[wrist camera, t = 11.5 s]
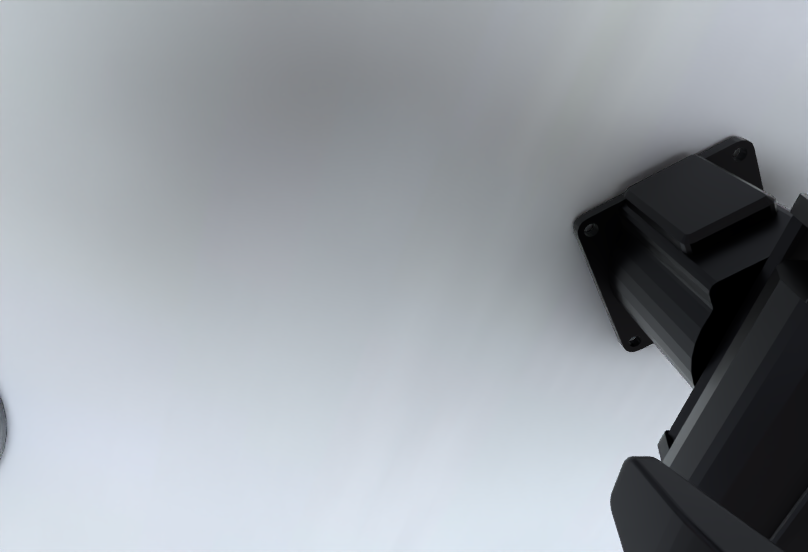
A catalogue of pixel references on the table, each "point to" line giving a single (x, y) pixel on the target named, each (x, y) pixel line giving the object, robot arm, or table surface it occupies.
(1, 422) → the collar
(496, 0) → the table surface
